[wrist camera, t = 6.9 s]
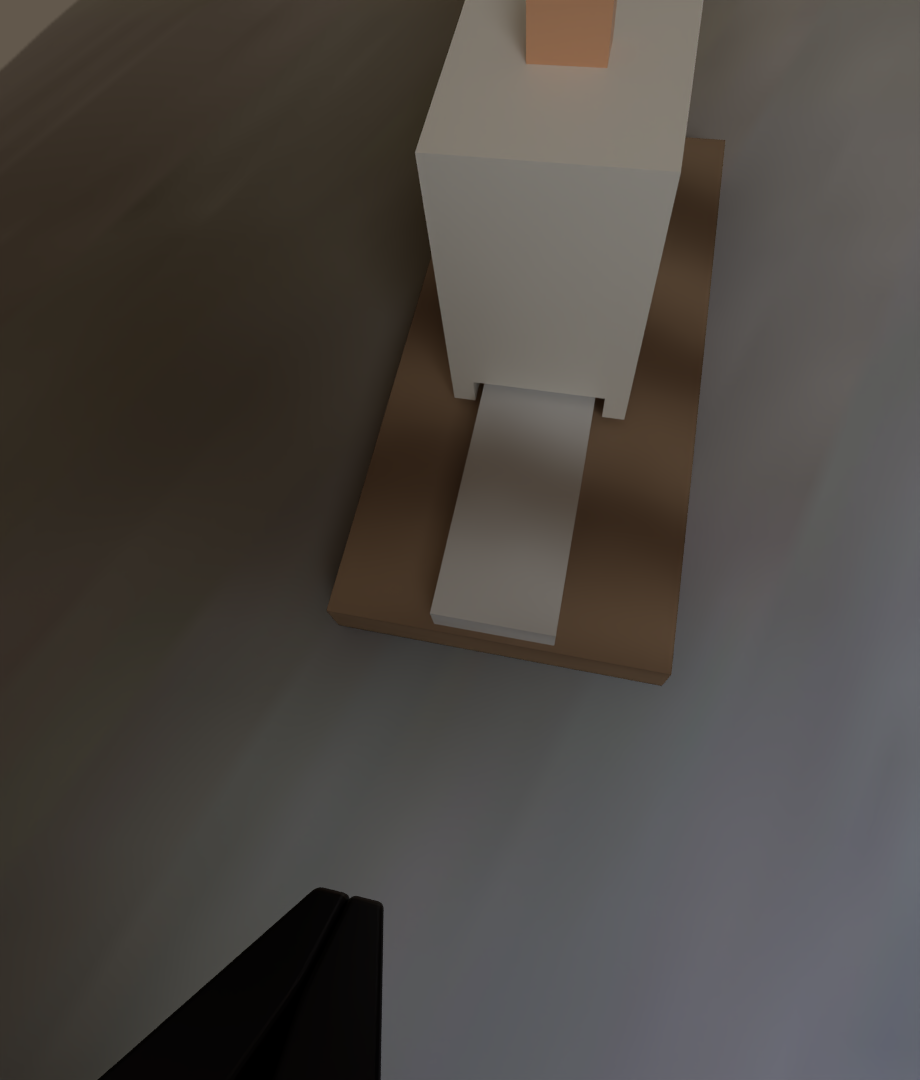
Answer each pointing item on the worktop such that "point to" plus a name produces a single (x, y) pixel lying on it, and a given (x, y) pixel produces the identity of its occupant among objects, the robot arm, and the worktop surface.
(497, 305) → the block
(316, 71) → the worktop surface
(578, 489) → the rail board
